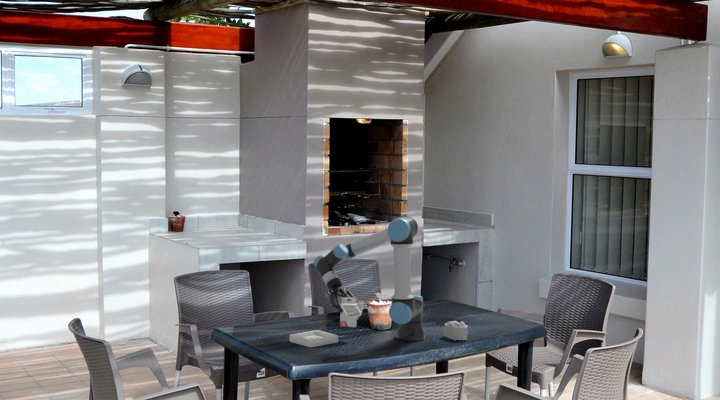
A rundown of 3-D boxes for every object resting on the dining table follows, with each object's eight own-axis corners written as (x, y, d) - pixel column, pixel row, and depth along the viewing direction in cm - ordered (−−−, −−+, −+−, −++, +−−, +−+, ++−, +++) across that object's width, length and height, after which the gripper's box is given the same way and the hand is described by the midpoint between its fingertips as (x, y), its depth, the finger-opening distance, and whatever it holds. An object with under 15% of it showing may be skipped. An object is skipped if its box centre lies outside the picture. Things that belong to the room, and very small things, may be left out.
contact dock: (338, 342, 458) (338, 335, 458) (310, 347, 445) (310, 340, 445) (317, 336, 470) (317, 330, 469) (289, 341, 456) (289, 334, 456)
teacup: (335, 317, 522) (336, 300, 522) (359, 316, 528) (360, 299, 527) (342, 321, 511) (343, 304, 510) (367, 320, 516) (367, 303, 516)
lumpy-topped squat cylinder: (456, 334, 485) (457, 319, 485) (471, 339, 474) (472, 323, 474) (441, 336, 480) (441, 320, 479) (456, 341, 469) (457, 325, 468)
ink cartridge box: (340, 327, 461) (340, 298, 460) (339, 325, 466) (340, 297, 465) (356, 327, 461) (357, 298, 460) (356, 325, 466) (357, 297, 465)
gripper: (343, 283, 481) (364, 317, 470) (313, 287, 465) (333, 322, 455) (350, 275, 477) (371, 309, 466) (320, 278, 461) (341, 314, 451)
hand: (352, 315), depth 461 cm, fingers closed on ink cartridge box, 9 cm apart
